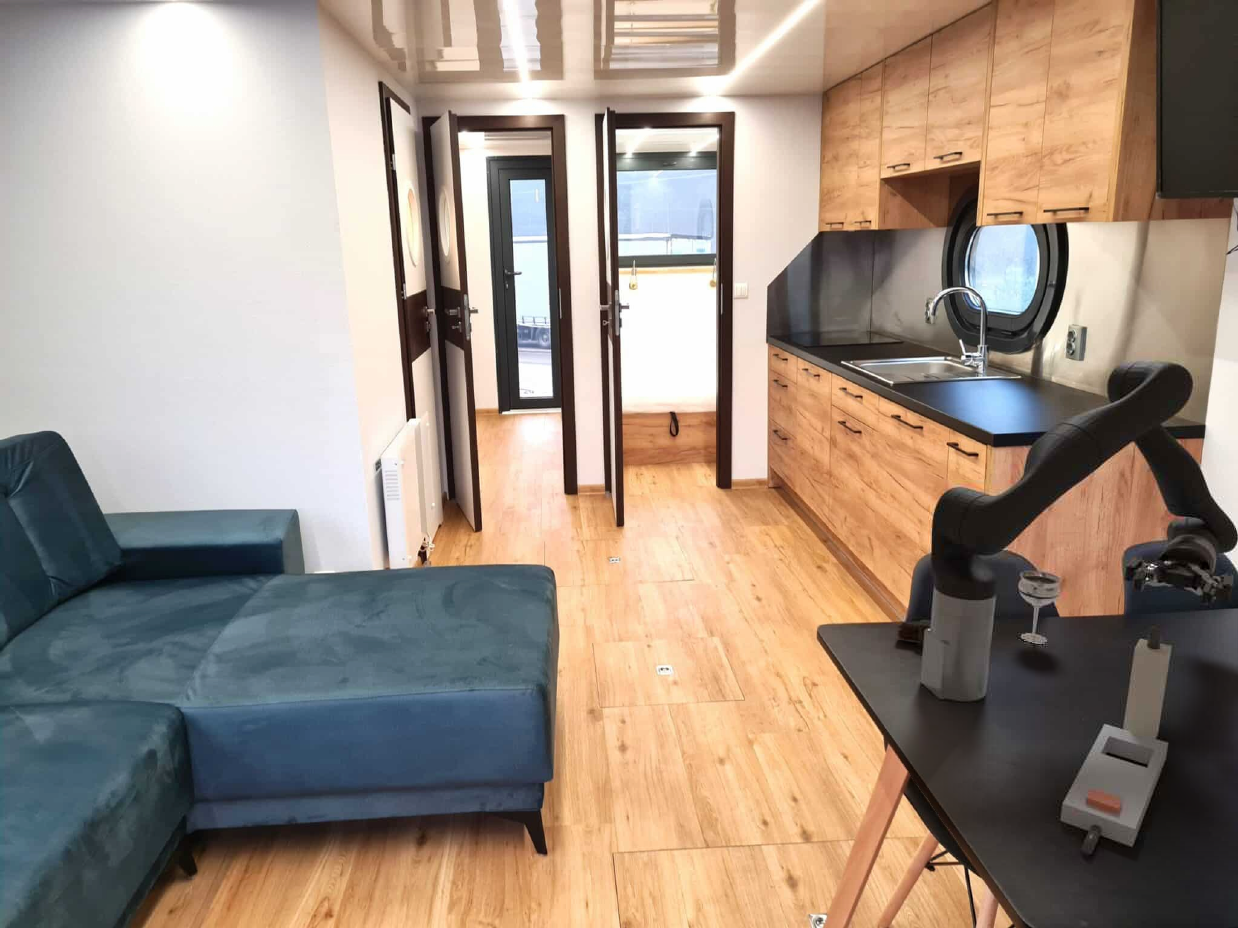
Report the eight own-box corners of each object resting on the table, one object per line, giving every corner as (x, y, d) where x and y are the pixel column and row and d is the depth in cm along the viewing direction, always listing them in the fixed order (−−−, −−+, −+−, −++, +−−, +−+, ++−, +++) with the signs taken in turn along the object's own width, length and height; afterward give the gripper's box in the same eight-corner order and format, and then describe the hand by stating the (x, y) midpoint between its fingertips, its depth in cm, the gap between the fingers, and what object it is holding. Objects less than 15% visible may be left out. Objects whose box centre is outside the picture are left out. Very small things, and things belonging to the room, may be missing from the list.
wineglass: (1061, 645, 160) (1069, 582, 157) (1028, 648, 158) (1035, 585, 155) (1037, 629, 166) (1044, 569, 163) (1005, 632, 165) (1011, 572, 162)
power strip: (1123, 869, 103) (1127, 844, 102) (1049, 840, 108) (1052, 817, 107) (1165, 758, 125) (1169, 737, 124) (1102, 739, 129) (1105, 718, 129)
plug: (1153, 744, 128) (1170, 636, 124) (1122, 735, 130) (1137, 628, 126) (1158, 732, 131) (1174, 626, 127) (1127, 724, 133) (1142, 619, 129)
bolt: (898, 647, 163) (986, 659, 157) (896, 644, 159) (986, 656, 153) (901, 616, 165) (988, 626, 159) (899, 612, 160) (988, 623, 154)
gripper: (1141, 531, 150) (1121, 558, 138) (1242, 549, 141) (1231, 579, 129) (1135, 573, 152) (1115, 603, 140) (1235, 592, 143) (1223, 626, 131)
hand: (1171, 592), depth 135 cm, fingers open, 8 cm apart
